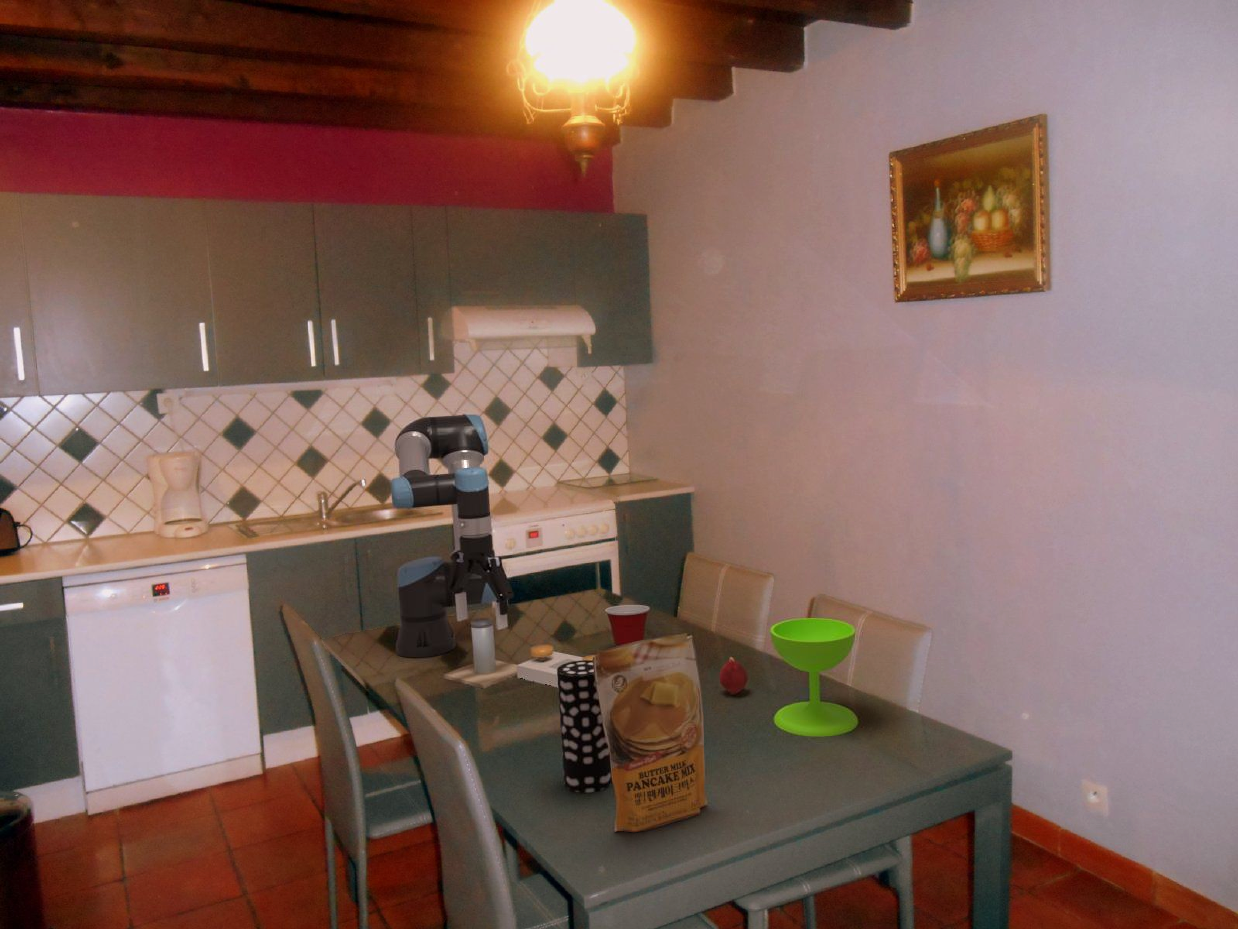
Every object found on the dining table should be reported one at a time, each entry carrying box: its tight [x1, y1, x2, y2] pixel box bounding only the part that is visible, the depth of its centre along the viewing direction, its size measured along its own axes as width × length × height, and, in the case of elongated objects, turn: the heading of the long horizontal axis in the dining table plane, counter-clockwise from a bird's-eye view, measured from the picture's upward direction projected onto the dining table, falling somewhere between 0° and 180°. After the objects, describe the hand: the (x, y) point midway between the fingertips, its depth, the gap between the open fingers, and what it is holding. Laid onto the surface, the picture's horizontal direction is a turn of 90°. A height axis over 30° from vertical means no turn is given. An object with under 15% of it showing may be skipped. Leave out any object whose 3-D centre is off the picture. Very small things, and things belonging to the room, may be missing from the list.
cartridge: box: [470, 617, 496, 675], centre depth 218 cm, size 5×5×12 cm
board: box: [442, 659, 518, 689], centre depth 219 cm, size 14×14×1 cm
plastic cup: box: [604, 604, 651, 647], centre depth 227 cm, size 11×11×12 cm
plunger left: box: [530, 644, 554, 663], centre depth 218 cm, size 5×5×4 cm
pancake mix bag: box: [593, 631, 708, 833], centre depth 144 cm, size 7×19×28 cm, turn 116°
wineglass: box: [769, 617, 859, 738], centre depth 180 cm, size 16×16×18 cm
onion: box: [718, 656, 748, 696], centre depth 196 cm, size 6×6×8 cm
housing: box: [516, 650, 583, 688], centre depth 213 cm, size 21×12×3 cm, turn 51°
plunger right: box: [582, 654, 596, 660], centre depth 208 cm, size 5×5×4 cm
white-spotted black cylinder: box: [557, 660, 613, 794], centre depth 158 cm, size 8×8×20 cm
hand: (482, 624), depth 218 cm, fingers open, 13 cm apart
